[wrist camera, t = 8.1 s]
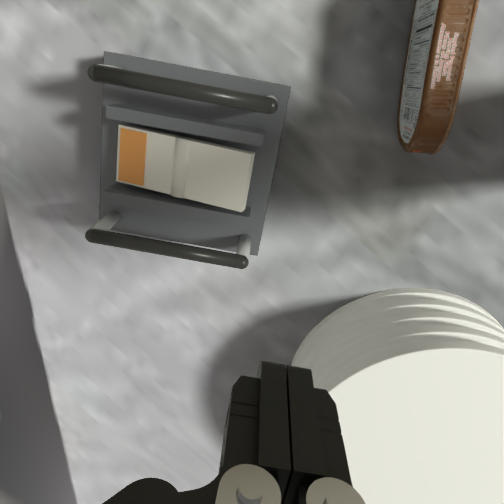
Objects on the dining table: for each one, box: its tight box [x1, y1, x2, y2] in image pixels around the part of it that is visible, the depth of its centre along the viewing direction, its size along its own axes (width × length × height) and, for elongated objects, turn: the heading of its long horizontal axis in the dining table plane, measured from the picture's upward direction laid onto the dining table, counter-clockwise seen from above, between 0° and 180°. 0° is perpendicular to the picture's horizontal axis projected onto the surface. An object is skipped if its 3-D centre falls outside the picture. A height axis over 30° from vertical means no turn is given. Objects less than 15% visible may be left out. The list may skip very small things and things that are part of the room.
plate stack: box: [291, 288, 504, 504], centre depth 47 cm, size 28×28×12 cm
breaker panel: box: [85, 51, 291, 269], centre depth 37 cm, size 16×16×10 cm
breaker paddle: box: [116, 124, 255, 212], centre depth 36 cm, size 12×5×2 cm, turn 80°
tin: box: [397, 0, 479, 154], centre depth 33 cm, size 15×3×8 cm, turn 179°
